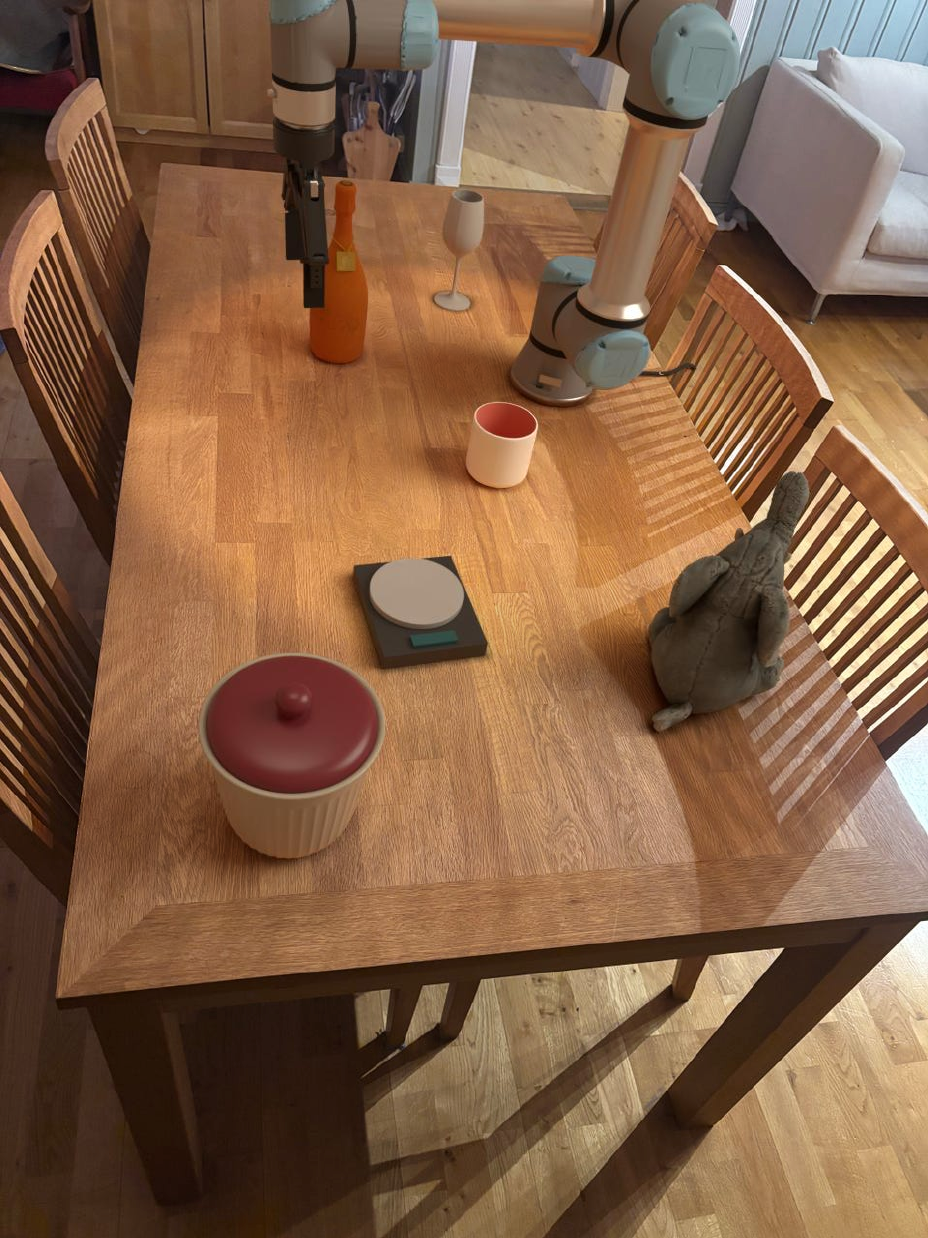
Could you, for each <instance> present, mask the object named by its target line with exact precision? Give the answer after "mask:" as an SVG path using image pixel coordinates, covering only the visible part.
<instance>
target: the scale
mask: <svg viewBox="0 0 928 1238" xmlns="http://www.w3.org/2000/svg"><path fill="white" fill-rule="evenodd" d="M352 580H353V584H354V586H355V589H356V592H357V595H358V599H359V601H360V605H361V608H362V611H363V615H364V617H365V620H366V624H367V627H368V631H369V633H370V636H371V639H372V642H373V645H374V648H375V652H376V655H377V658H378V661H379V664H380V667H381V669H382V670H388V669H393V668H401V667H402V668H403V667H408V666H409V667H411V666H415V665H424V664H431V663H437V662H439V663H440V662H445V661H453V660H459V659H460V660H461V659H468V658H476V657H482V656H486V654H487V650H488V646H489V645H488V644H489V642H488V640H487V636H486V635H485V633H484V630H483V628H482V625H481V623H480V621H479V618H478V616H477V614H476V611H475V609H474V607H473V604H472V602H471V600H470V597H469V594H468V593H467V590H466V588H465V585H464V583H463V581H462V578H461V576H460V574H459V572H458V569H457V567H456V564H455V562H454V559H453V557H452V555H443V556H432V557H423V558H422V557H421V558H417V557H406V558H398V559H395V560H392V561H384V562H374V563H373V562H372V563H363V564H354V565H353V570H352Z"/></svg>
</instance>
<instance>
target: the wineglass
mask: <svg viewBox="0 0 928 1238" xmlns="http://www.w3.org/2000/svg"><path fill="white" fill-rule="evenodd" d="M484 225H485V198H484V196H483V195H482V194H481V193H480V192H477V191H475V190H472V189H469V188H468V189H467V188H458V189H455V190H453V191H452V192H451V195H450V198H449V201H448V204H447V208H446V211H445V216H444V218H443V224H442V230H441V231H442V233H441V235H442V240H443V242H444V244H445V246H446V248H447V250H449V252H450V253H451V254H452V255H453V256H454V258H455V268H454V273H453V281H452V287H451V291H440V292H438V293H436V294H435V295H434V298H433V300H434V303H435V304H436V305H437V306H438V307H440V308H442V309H444V310H446V311H454V312H460V311H461V312H462V311H464V310H467V309H469V308H470V306H471V301H470V299H469V298H468V297H467V296H466V295H464V294H462V293H459V292H457V285H458V277H459V270H460V264H461V261H462V259H463V258H465V257H467V256H468V255H470V254H471V253H473V252H474V251H475V250H476V249H477V248H478V247H479V246H480V244H481V243H482V238H483V233H484Z"/></svg>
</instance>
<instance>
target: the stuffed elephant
mask: <svg viewBox="0 0 928 1238" xmlns="http://www.w3.org/2000/svg"><path fill="white" fill-rule="evenodd" d="M809 497H810V488H809V481H808V479H807V477H806V475H805V474H804V473H803V471H794V470H789V471H787V472H786V473H784V474H783V475H782V476H781V477H780V479H779V480H778V481H777V482H776V485H775V487H774V490H773V493H772V497H771V500H770V501H771V502H770V505H769V508H768V511H767V514H766V518H764V519H762V520H760V521H759V522H758V523H756V524H755V525H753V527H752V528H751V529H750V530H748V531H747V532H746V533H744V530H743V529H742V527H738V528H737V529H736V530H735V532H734V538H733V539H734V540H733V541H732V542H730V543H728V544H727V545H726V546H725V547H724V548H723V549H722V550H721V551H719V552H718V553H716V554H714V555H713V554H711V555H705V556H703V557H700V558H698V559H696V560H694V561H692V562H691V563H689V564H687V565H686V566H685V567H684V569H683V570H682V571H681V572H680V574H678V576H677V578H676V579H675V582H674V583H673V584H672V587H671V591H670V595H669V599H668V606H665V607H662V608H661V609H659V610H658V611H657V613H656V614H655V615H654V617H653V618H652V620H651V622H650V624H649V625H648V628H647V634H648V635H647V637H648V641H649V646H650V648H651V652H650V660H651V664H652V667H653V671H654V674H655V678H656V681H657V683H658V684H657V685H658V686H659V688H660V689H661V692H662V693H663V695H664V697H665V699H666V701H667V702H668V703H669V704H670V705H671V706H669V707H667V708H663V709H662V710H660V711H657V713H655V714H653V716H652V718H651V720H652V722H653V729H654V730H655V731H656V732H660V733H662V732H663V731H665V730H667V729H669V728H671V727H672V726H674V725H677V724H679V723H680V722H683V721H685V720H686V719H688V717H689V716H690V715H691V714H693V715H694V714H695V715H696V714H711V713H716V712H719V711H721V710H724V709H727V708H729V707H731V706H733V705H735V704H737V703H738V702H740V701H744V700H745V699H747V698H748V697H752V696H756V695H759V694H763V693H765V692H767V691H770V690H772V689H774V688H775V687H776V686H777V684H778V682H780V681H781V675H782V672H783V669H784V665H785V663H784V661H785V660H784V659H783V658H782V657H781V655H780V647H781V646H782V645H783V643H784V641H785V639H786V637H787V634H788V633H789V631H790V624H791V613H790V611H791V610H790V604H789V601H788V600H787V597H786V594H785V593H784V592H783V589H784V584H785V564H787V563H789V562H790V561H791V559H792V557H793V554H792V553H791V552H787V551H788V549H789V547H790V546H791V545H792V540H793V537H794V533H795V529H796V527H797V524H798V520H799V517H800V516H801V514H802V513H803V511H804V509H805V506H806V504H807V503H808V502H809Z"/></svg>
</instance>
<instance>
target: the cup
mask: <svg viewBox="0 0 928 1238" xmlns="http://www.w3.org/2000/svg"><path fill="white" fill-rule="evenodd" d="M538 423H539V422H538V420H537V418H536V417H535V416H534V414H533V413H532V412H530V411H529V410H528V409H526V408H525V407H522V406H520V405H518V404H515V403H511V402H505V401H492V402H487V403H484V404H482V405H481V406H479V407H478V408H477V409H476V410H475V412H474V413H473V418H472V424H471V428H470V429H471V430H470V435H469V440H468V446H467V452H466V456H465V468H466V470H467V472H468V473H469V475H470V476H471V477H472V478H473V479H474V480H475V481H477V482H478V483H480V484H482V485H484V486H486V487H490V488H495V489H506V488H512V487H514V486H517V485H519V484H520V483H522V481H524V479H525V478H526V476H527V474H528V471H529V466H530V462H531V459H532V455H533V451H534V445H535V441H536V438H537V434H538V430H539V424H538Z"/></svg>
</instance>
